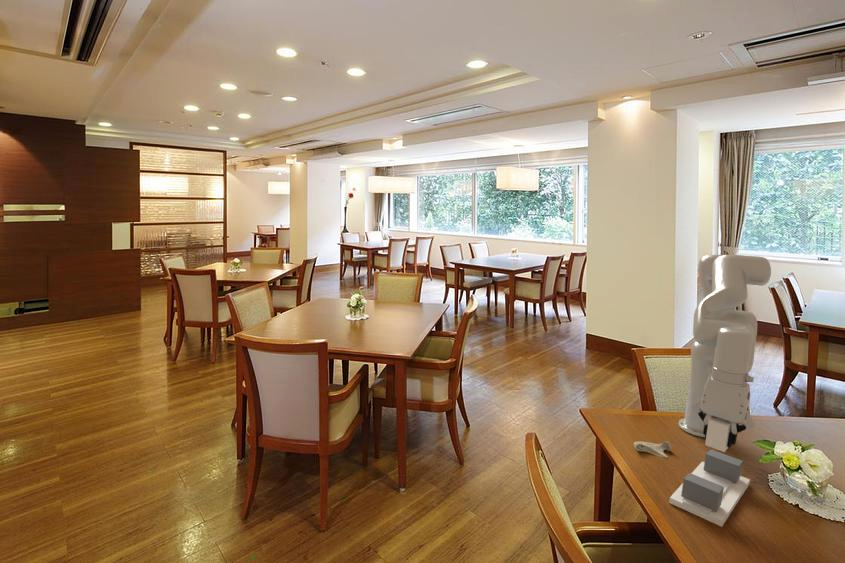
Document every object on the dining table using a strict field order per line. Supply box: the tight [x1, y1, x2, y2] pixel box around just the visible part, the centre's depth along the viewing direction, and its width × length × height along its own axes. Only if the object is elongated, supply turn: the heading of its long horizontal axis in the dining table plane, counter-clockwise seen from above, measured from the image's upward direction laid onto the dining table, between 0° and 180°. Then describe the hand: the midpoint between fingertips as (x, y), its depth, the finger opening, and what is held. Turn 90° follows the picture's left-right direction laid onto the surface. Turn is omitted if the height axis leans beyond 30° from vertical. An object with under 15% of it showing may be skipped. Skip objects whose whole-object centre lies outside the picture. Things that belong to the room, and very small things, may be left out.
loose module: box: [704, 416, 731, 453], centre depth 124 cm, size 6×4×7 cm
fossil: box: [633, 440, 672, 459], centre depth 148 cm, size 7×11×3 cm, turn 70°
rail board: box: [668, 449, 751, 527], centre depth 127 cm, size 26×12×7 cm, turn 134°
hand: (718, 441), depth 125 cm, fingers closed on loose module, 4 cm apart
